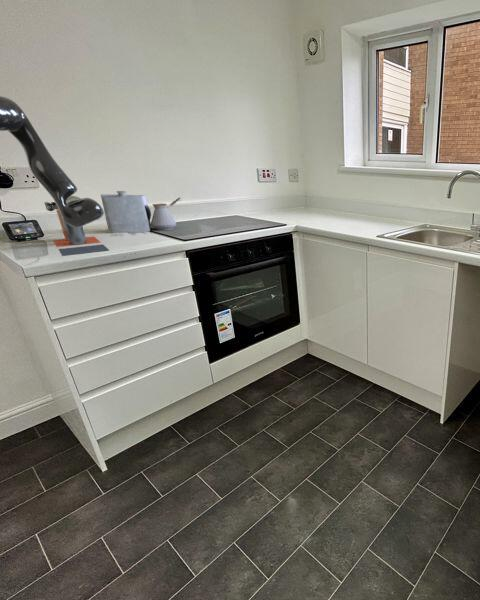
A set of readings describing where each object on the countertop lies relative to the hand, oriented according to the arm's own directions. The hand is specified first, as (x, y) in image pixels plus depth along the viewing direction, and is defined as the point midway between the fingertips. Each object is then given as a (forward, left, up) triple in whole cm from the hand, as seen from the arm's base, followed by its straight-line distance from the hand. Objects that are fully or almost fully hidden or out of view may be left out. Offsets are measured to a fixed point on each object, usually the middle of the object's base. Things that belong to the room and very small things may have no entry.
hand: (69, 203), depth 134 cm
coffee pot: (+41, +35, -18) cm, 57 cm away
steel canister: (0, +13, -18) cm, 22 cm away
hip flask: (+22, +31, -18) cm, 42 cm away
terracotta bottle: (0, +23, -18) cm, 29 cm away
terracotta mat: (0, +18, -18) cm, 25 cm away
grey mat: (0, -1, -18) cm, 18 cm away
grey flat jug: (+24, +40, -18) cm, 50 cm away
